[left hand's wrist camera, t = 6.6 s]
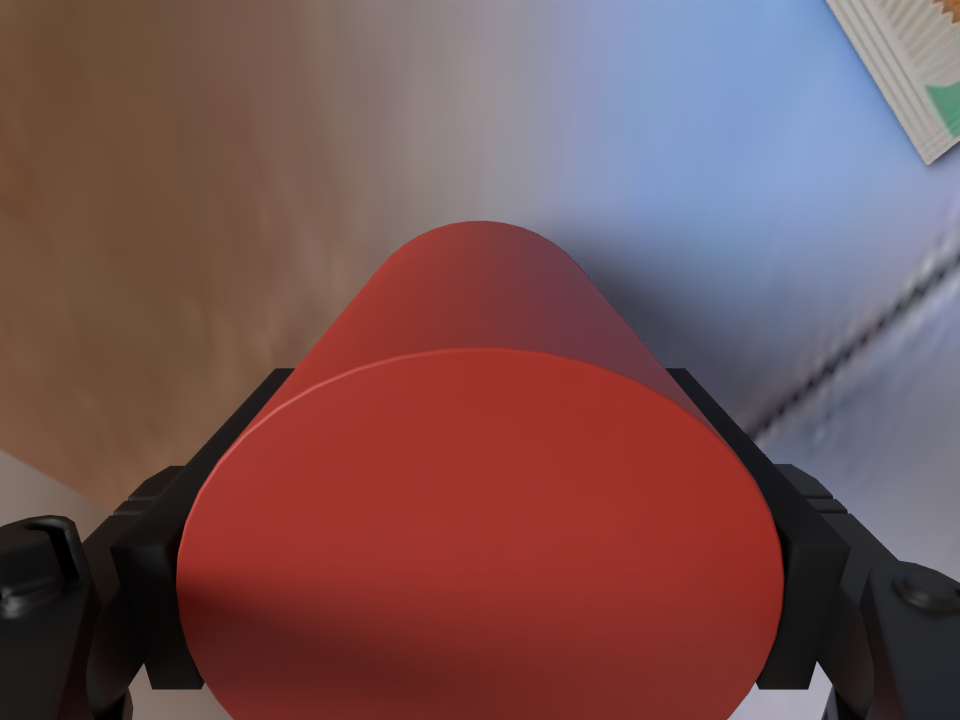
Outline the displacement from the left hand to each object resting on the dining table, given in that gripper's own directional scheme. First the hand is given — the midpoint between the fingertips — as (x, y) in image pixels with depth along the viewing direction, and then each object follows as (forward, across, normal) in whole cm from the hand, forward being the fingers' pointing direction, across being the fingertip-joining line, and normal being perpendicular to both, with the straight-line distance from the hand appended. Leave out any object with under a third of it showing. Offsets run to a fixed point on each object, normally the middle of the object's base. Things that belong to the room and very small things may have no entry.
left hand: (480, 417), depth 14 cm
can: (+5, 0, 0) cm, 5 cm away
